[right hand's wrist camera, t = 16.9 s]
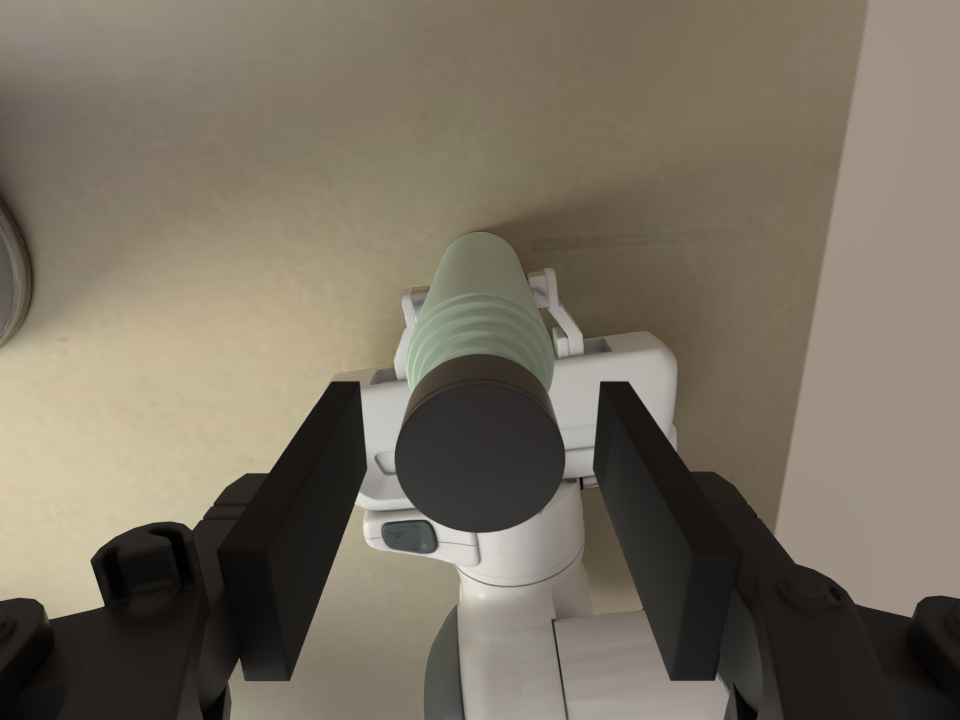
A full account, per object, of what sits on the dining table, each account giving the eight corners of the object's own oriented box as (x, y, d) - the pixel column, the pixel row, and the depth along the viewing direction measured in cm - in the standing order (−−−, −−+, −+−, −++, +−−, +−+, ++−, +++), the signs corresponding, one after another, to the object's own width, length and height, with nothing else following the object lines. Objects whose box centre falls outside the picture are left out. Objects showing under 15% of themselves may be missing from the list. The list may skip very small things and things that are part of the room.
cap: (503, 506, 16) (507, 558, 14) (380, 443, 15) (364, 488, 13) (582, 399, 14) (599, 438, 12) (453, 324, 14) (448, 353, 12)
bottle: (422, 269, 34) (328, 444, 13) (483, 213, 33) (491, 306, 12) (476, 328, 35) (471, 572, 14) (537, 277, 34) (629, 461, 13)
